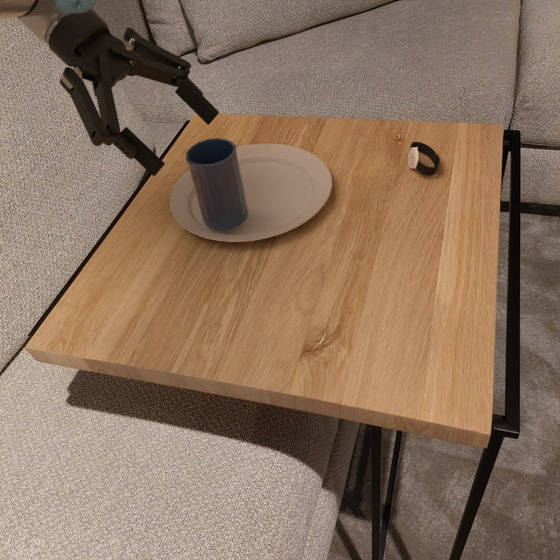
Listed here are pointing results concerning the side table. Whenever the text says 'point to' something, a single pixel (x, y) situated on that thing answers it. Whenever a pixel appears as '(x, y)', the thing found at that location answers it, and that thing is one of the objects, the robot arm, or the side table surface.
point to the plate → (262, 193)
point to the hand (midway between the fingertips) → (188, 143)
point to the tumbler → (218, 183)
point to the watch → (415, 163)
